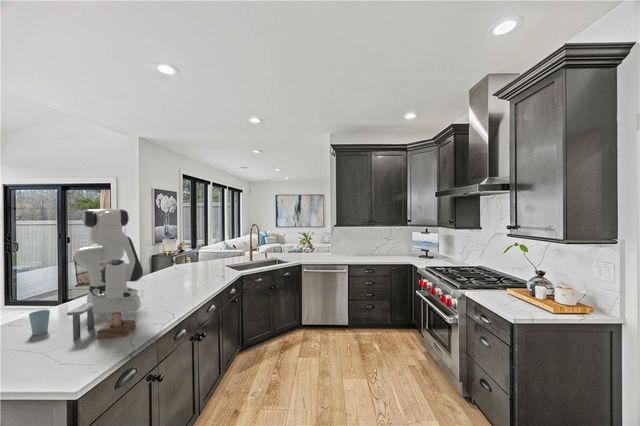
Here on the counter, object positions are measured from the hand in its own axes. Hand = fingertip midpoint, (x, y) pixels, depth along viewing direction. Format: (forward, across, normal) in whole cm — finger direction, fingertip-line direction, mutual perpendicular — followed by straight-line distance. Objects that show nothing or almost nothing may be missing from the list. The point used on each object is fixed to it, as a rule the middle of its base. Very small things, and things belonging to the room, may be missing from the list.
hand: (117, 320), depth 147 cm
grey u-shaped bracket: (+6, -16, +3) cm, 17 cm away
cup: (+6, -39, +10) cm, 41 cm away
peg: (+6, 0, 0) cm, 6 cm away
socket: (+6, 0, 0) cm, 6 cm away
